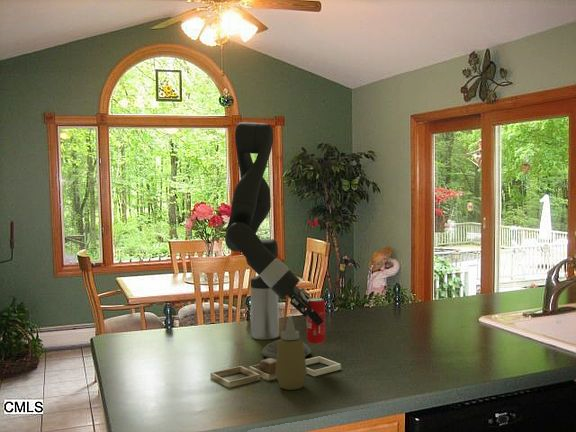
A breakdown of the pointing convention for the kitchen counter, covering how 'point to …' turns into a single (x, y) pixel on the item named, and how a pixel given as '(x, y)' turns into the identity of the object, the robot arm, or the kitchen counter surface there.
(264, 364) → the walnut cube
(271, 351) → the flying saucer
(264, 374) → the square wooden frame
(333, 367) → the pen
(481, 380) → the kitchen counter surface
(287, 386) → the squeeze bottle
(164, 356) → the kitchen counter surface
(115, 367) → the kitchen counter surface
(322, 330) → the beverage can
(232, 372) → the pen
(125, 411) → the kitchen counter surface
